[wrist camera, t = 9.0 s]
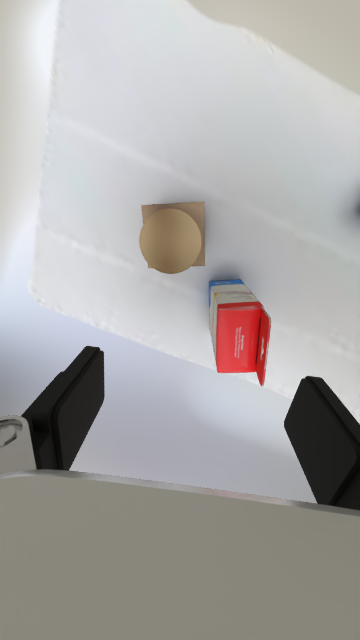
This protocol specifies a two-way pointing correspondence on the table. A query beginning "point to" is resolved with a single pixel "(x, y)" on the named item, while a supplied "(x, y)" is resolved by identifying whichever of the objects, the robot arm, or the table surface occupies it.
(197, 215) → the top block
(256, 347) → the ink box
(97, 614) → the robot arm
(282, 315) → the table surface
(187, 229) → the beige knob
